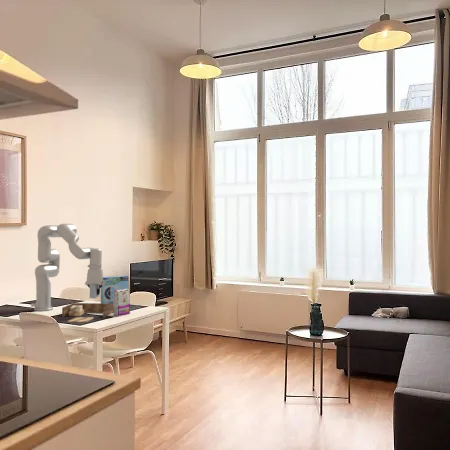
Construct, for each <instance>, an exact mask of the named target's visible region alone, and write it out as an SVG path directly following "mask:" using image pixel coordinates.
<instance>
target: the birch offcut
mask: <svg viewBox="0 0 450 450" xmlns="http://www.w3.org/2000/svg"><path fill="white" fill-rule="evenodd" d="M82 310H83V305H73V306H72V307H71V312H80V311H82Z"/></svg>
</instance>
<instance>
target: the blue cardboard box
mask: <svg viewBox="0 0 450 450" xmlns="http://www.w3.org/2000/svg"><path fill="white" fill-rule="evenodd" d="M103 281H104V282H105V285H104V286H102V287H101V288H100V303H110V304H113V291H117V290H122V289H129V275H126V274H125V275H115V276H114V275H111V276H103ZM100 285H102V284H100Z"/></svg>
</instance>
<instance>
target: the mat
mask: <svg viewBox="0 0 450 450" xmlns="http://www.w3.org/2000/svg"><path fill="white" fill-rule="evenodd" d="M93 319H94V317H92V316H91V317H90V316H87V317H83V316H74V317H73V318H71V319H68V320H67V323H88V322H90V321H91V320H93Z"/></svg>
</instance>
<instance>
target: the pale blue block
mask: <svg viewBox="0 0 450 450" xmlns="http://www.w3.org/2000/svg"><path fill="white" fill-rule="evenodd" d="M97 288H98V287H97V285H96V284H90V288H89V299H97V298H99V297H101V293H100V294H99V295H97Z"/></svg>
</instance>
